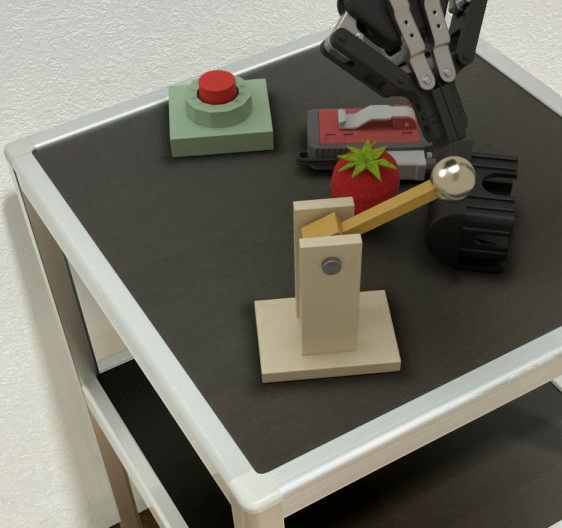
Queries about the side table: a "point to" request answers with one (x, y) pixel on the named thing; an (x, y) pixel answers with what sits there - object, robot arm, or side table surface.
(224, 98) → the button
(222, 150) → the button box
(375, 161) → the strawberry
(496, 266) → the end cap
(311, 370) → the bracket
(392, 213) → the lever
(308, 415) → the side table surface
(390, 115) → the walkie-talkie
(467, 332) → the side table surface
